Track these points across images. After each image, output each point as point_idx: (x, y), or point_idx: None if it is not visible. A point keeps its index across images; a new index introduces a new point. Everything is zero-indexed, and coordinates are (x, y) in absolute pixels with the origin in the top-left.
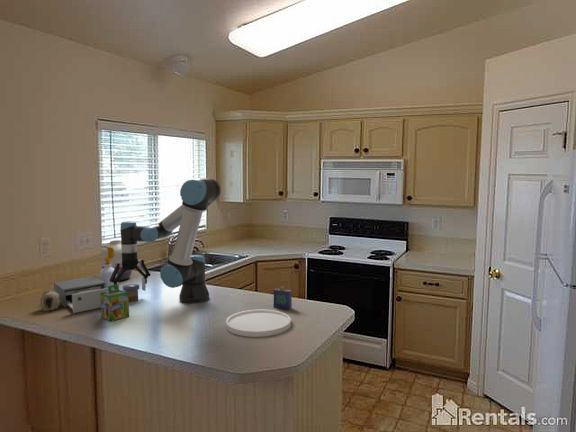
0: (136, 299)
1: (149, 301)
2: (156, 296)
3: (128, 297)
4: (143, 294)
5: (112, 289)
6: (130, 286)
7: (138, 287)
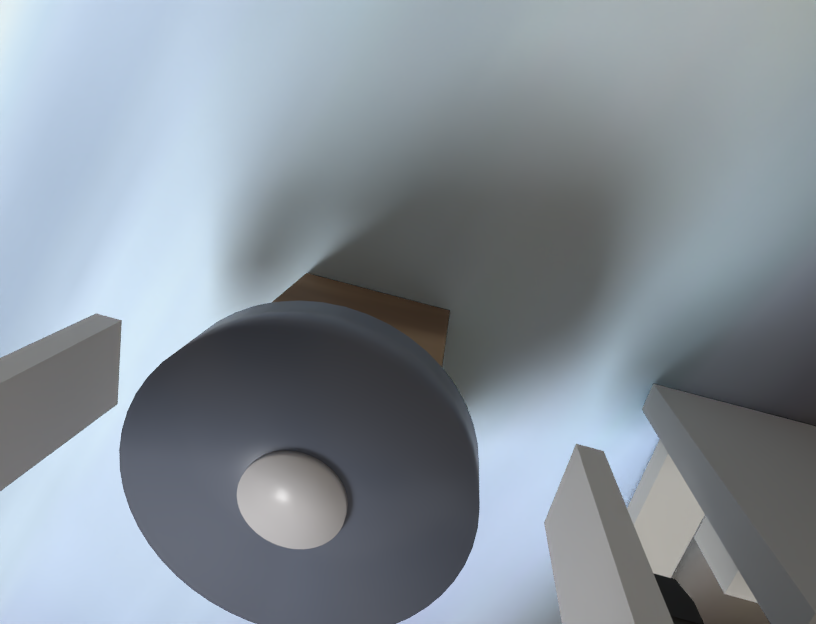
0: (328, 286)
1: (224, 78)
2: (29, 216)
3: (445, 341)
4: (116, 440)
5: (807, 575)
6: (331, 470)
7: (205, 332)
